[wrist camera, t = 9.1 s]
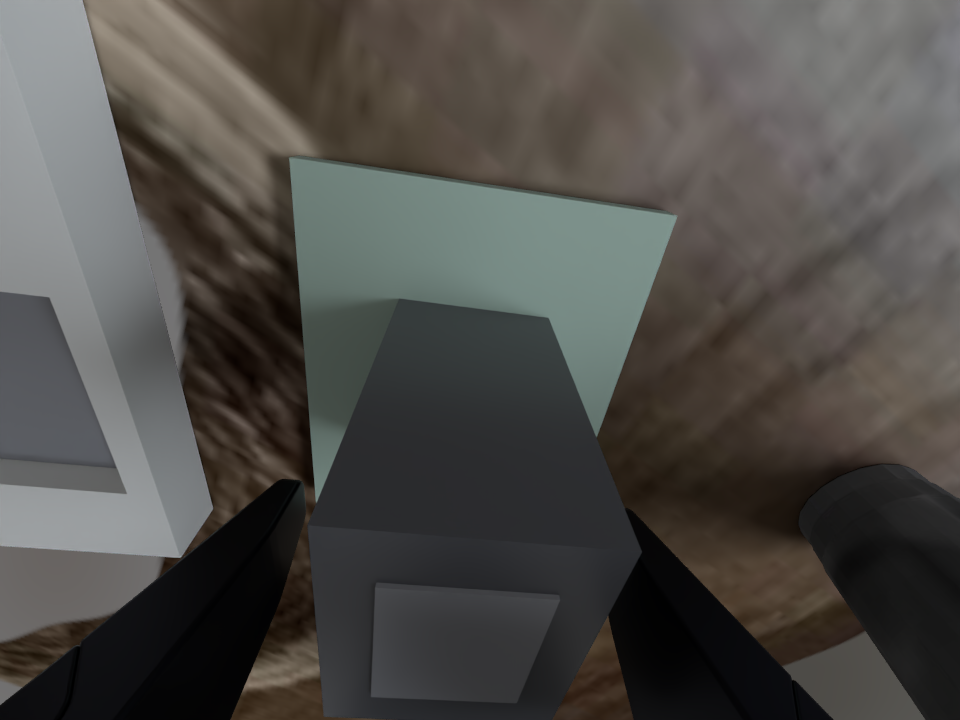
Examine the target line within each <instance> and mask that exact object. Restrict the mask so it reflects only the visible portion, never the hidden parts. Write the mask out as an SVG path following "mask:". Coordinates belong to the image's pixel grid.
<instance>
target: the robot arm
mask: <svg viewBox="0 0 960 720" xmlns="http://www.w3.org/2000/svg"><path fill="white" fill-rule="evenodd" d="M625 511H626V513H627V516H628V518H629V521H630V523H631V526H632V528H633V531H634V533H635V536H636V538H637V541H638V543H639V546H640V548H641V551H642V553H641V555H640V557H639V559H638V560H637V562H636V564H635V566H634V568H633V570H632V572H631V573H630V575H629V577H628V579H627V581H626V583H625V585H624V586H623V588H622V590H621V592H620V594H619V596H618V598H617V600H616V601H615V603H614V605H613V607H612V609H611V611H610V613H609V614H608V616H609V622H610V626H611V630H612V635H613V639H614V643H615V647H616V651H617V655H618V659H619V663H620V666H621V670H622V674H623V678H624V682H625V686H626V690H627V694H628V698H629V702H630V706H631V710H632V714H633V718H634V720H833V719H832V718H831V717H830V716H829V715H828V714H827V713H826V712H825V711H824V710H823V709H822V708H821V707H820V706H819V705H818V703H816V701H815V700H814V699H813V698H812V697H811V696H810V695H809V694H808V693H807V692H806V691H805V690H804V689H803V688H802V687H801V686H800V685H799V684H798V683H797V682H796V681H794V680H792V679H791V676H790V675H789V674H788V673H787V671H785V669H784V668H783V667H782V666H781V665H780V664H779V663H778V662H777V661H776V660H775V659H774V658H773V657H772V656H771V655H770V654H769V653H768V652H767V651H766V650H765V648H764V647H763V646H762V645H761V644H760V643H759V642H758V641H757V640H756V639H755V638H754V637H753V636H752V635H751V634H750V633H749V632H748V631H747V630H746V629H745V628H744V627H743V626H742V625H741V623H740V622H739V621H738V620H737V619H736V618H735V617H734V616H733V615H732V614H731V613H730V612H729V611H728V610H727V609H726V608H725V607H724V606H723V605H722V604H721V603H720V602H719V601H718V600H717V598H716V597H715V596H714V595H713V594H712V593H711V592H710V591H709V590H708V589H707V588H706V587H705V586H704V585H703V584H702V583H701V582H700V581H699V580H698V579H697V578H696V577H695V576H694V574H693V573H692V572H691V571H690V570H689V569H688V568H687V567H686V566H685V565H684V564H683V563H682V562H681V561H680V560H679V559H678V558H677V557H676V556H675V555H674V554H673V553H672V552H671V551H670V549H669V548H668V547H667V546H666V545H665V544H664V543H663V542H662V541H661V540H660V539H659V538H658V537H657V536H656V535H655V534H654V533H653V532H652V531H651V530H650V529H649V528H648V527H647V526H646V524H645V523H644V522H643V521H642V520H641V519H640V518H639V517H638V516H637V515H636V514H635V513H634V512H633V511H632V510H630V509H628V508H625ZM305 515H306V504H305V493H304V485H303V483H302V481H300V480H291V479H281V480H279V481H277V482H276V483H274V484H273V485H272V486H271V487H270V488H268V489H267V490H266V491H265V492H263V493H262V494H261V495H260V496H258V497H257V498H256V499H255V500H254V501H252V502H251V503H250V504H249V505H247V506H246V507H245V508H244V509H242V510H241V511H240V512H239V513H238V514H236V515H235V516H234V517H233V518H231V519H230V520H229V521H228V522H226V523H225V524H224V525H223V526H222V527H220V528H219V529H218V530H217V531H215V532H214V533H213V534H212V535H210V536H209V537H208V538H207V539H206V540H204V541H203V542H202V543H201V544H199V545H198V546H197V547H196V548H195V549H193V550H192V551H191V552H190V553H188V554H187V555H186V556H185V557H183V558H182V559H181V560H180V561H179V562H177V563H176V564H175V565H174V566H172V567H171V568H170V569H169V570H167V571H166V572H165V573H164V574H163V575H161V576H160V577H159V578H158V579H156V580H155V581H154V582H153V583H151V584H150V585H149V586H148V587H147V588H145V589H144V590H143V591H142V592H140V593H139V594H138V595H137V596H135V597H134V598H133V599H132V600H131V601H129V602H128V603H127V604H126V605H124V606H123V607H122V608H121V609H120V610H118V611H117V612H116V613H115V614H113V615H112V616H111V617H110V618H108V619H107V620H106V621H105V622H104V623H102V624H101V625H100V626H99V627H97V628H96V629H95V630H94V631H92V632H91V633H90V634H89V635H88V636H86V637H85V638H84V639H83V640H82V641H81V643H80V646H79V645H76V646H74V647H72V648H71V649H70V650H69V651H68V652H66V653H65V654H64V655H63V656H61V657H60V658H59V659H58V660H56V661H55V662H54V663H53V664H52V665H50V666H49V667H48V668H47V669H45V670H44V671H43V672H42V673H40V674H39V675H38V676H37V677H35V678H34V679H33V680H31V681H30V682H29V683H28V684H26V685H25V686H24V687H23V688H21V689H20V690H19V691H18V692H16V693H15V694H14V695H12V696H11V697H10V698H9V699H7V700H6V701H5V702H4V703H2V704H1V705H0V720H230V719H231V717H232V714H233V712H234V710H235V707H236V705H237V703H238V700H239V698H240V695H241V693H242V691H243V688H244V686H245V683H246V681H247V679H248V676H249V674H250V672H251V669H252V667H253V664H254V662H255V660H256V657H257V655H258V653H259V650H260V648H261V645H262V643H263V641H264V638H265V636H266V634H267V631H268V629H269V626H270V624H271V622H272V619H273V617H274V615H275V612H276V609H277V607H278V604H279V602H280V599H281V596H282V593H283V590H284V586H285V583H286V580H287V576H288V573H289V570H290V567H291V563H292V560H293V557H294V553H295V550H296V547H297V543H298V540H299V537H300V534H301V530H302V527H303V524H304V520H305Z"/></svg>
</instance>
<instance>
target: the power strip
mask: <svg viewBox="0 0 960 720" xmlns="http://www.w3.org/2000/svg"><path fill="white" fill-rule="evenodd" d="M212 510H213V506H212V502H211V498H210V494H209V490H208V486H207V482H206V479H205V475H204V471H203V467H202V463H201V459H200V455H199V451H198V447H197V444H196V440H195V436H194V432H193V428H192V424H191V420H190V416H189V412H188V409H187V405H186V401H185V397H184V393H183V389H182V385H181V381H180V377H179V374H178V370H177V366H176V362H175V358H174V354H173V350H172V347H171V342H170V339H169V335H168V331H167V327H166V323H165V319H164V315H163V311H162V307H161V304H160V300H159V296H158V292H157V288H156V284H155V280H154V276H153V273H152V269H151V265H150V261H149V257H148V253H147V249H146V245H145V241H144V237H143V233H142V230H141V226H140V222H139V218H138V214H137V210H136V206H135V202H134V198H133V195H132V191H131V187H130V183H129V179H128V175H127V171H126V167H125V163H124V160H123V156H122V152H121V148H120V144H119V140H118V136H117V132H116V128H115V125H114V121H113V117H112V113H111V109H110V105H109V101H108V97H107V93H106V90H105V86H104V82H103V78H102V74H101V70H100V66H99V62H98V58H97V55H96V51H95V47H94V43H93V39H92V35H91V31H90V27H89V23H88V20H87V16H86V12H85V8H84V4H83V0H0V546H10V547H25V548H41V549H55V550H70V551H85V552H86V551H87V552H99V553H114V554H130V555H144V556H159V557H174V558H181V557H182V555H183V554H184V552H185V551H186V549H187V548H188V546H189V545H190V543H191V542H192V540H193V539H194V537H195V536H196V534H197V533H198V531H199V530H200V528H201V527H202V525H203V524H204V522H205V521H206V519H207V518H208V516H209V515H210V513H211V512H212Z"/></svg>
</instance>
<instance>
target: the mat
mask: <svg viewBox="0 0 960 720" xmlns="http://www.w3.org/2000/svg"><path fill="white" fill-rule="evenodd" d="M289 162H290V174H291V187H292V200H293V213H294V226H295V239H296V252H297V265H298V277H299V290H300V303H301V316H302V329H303V342H304V355H305V367H306V380H307V393H308V406H309V419H310V432H311V445H312V458H313V470H314V483H315V496H316V503H317V501H318V498H319V496H320V493H321V491H322V488H323V486H324V483H325V481H326V478H327V476H328V473H329V471H330V468H331V466H332V464H333V461H334V459H335V456H336V454H337V451H338V449H339V446H340V444H341V441H342V439H343V436H344V434H345V431H346V429H347V426H348V424H349V421H350V419H351V416H352V414H353V411H354V409H355V407H356V404H357V402H358V399H359V397H360V394H361V392H362V389H363V387H364V384H365V382H366V379H367V377H368V374H369V372H370V369H371V367H372V364H373V362H374V359H375V357H376V355H377V352H378V350H379V347H380V345H381V342H382V340H383V337H384V335H385V332H386V330H387V327H388V325H389V322H390V320H391V317H392V315H393V312H394V310H395V307H396V305H397V302H398V300H399V298H400V299H407V300H415V301H423V302H430V303H438V304H446V305H453V306H461V307H469V308H476V309H484V310H492V311H499V312H507V313H515V314H522V315H530V316H538V317H545V318H549V320H550V323H551V325H552V328H553V330H554V333H555V335H556V338H557V340H558V343H559V345H560V348H561V350H562V353H563V355H564V358H565V360H566V363H567V365H568V368H569V370H570V373H571V375H572V378H573V380H574V383H575V385H576V388H577V390H578V393H579V395H580V398H581V400H582V403H583V405H584V408H585V410H586V413H587V415H588V418H589V420H590V423H591V425H592V428H593V430H594V433H595V435H596V438H597V435H598V433H599V430H600V427H601V424H602V422H603V419H604V416H605V413H606V411H607V408H608V405H609V402H610V400H611V397H612V394H613V391H614V389H615V386H616V383H617V380H618V378H619V375H620V372H621V369H622V367H623V364H624V361H625V358H626V356H627V353H628V350H629V347H630V345H631V342H632V339H633V336H634V334H635V331H636V328H637V326H638V323H639V320H640V317H641V315H642V312H643V309H644V306H645V304H646V301H647V298H648V295H649V293H650V290H651V287H652V284H653V282H654V279H655V276H656V273H657V271H658V268H659V265H660V262H661V260H662V257H663V254H664V251H665V249H666V246H667V243H668V240H669V238H670V235H671V232H672V229H673V227H674V224H675V221H676V218H677V216H676V215H674V214H672V213H670V212H668V211H662V210H656V209H649V208H643V207H636V206H629V205H623V204H616V203H609V202H603V201H596V200H590V199H583V198H576V197H570V196H563V195H557V194H550V193H543V192H537V191H530V190H524V189H517V188H510V187H504V186H497V185H491V184H484V183H477V182H471V181H464V180H458V179H451V178H444V177H438V176H431V175H424V174H418V173H411V172H405V171H398V170H391V169H385V168H378V167H372V166H365V165H358V164H352V163H345V162H339V161H332V160H325V159H319V158H312V157H306V156H294V157H289Z"/></svg>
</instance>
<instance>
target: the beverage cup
mask: <svg viewBox="0 0 960 720" xmlns="http://www.w3.org/2000/svg"><path fill="white" fill-rule="evenodd" d="M798 524H799V527H800V530H801V532H802V534H803V535H804V536H805V538H806V539H807V540H808V541H809V543H810V544H811V545H812V547H813V550H814V551H815V553H816V555H817V556H818V558H819V559H820V561H821V562H822V564H823V566H824V569H825V572H826V573H827V575H828V576H829V577H830V579H831V580H832V582H833V583H834V585H835V586H836V588H837V589H838V591H839V592H840V594H841V595H842V597H843V598H844V600H845V601H846V603H847V604H848V606H849V607H850V609H851V610H852V612H853V613H854V615H855V616H856V617H857V619H858V620H859V622H860V623H861V625H862V626H863V628H864V629H865V631H866V632H867V634H868V635H869V637H870V638H871V640H872V641H873V643H874V644H875V645H876V647H877V649H878V650H879V651H880V653H881V655H882V656H883V657H884V659H885V660H886V662H887V663H888V665H889V666H890V668H891V669H892V671H893V672H894V674H895V675H896V677H897V678H898V680H899V681H900V683H901V684H902V686H903V687H904V689H905V690H906V691H907V693H908V695H909V696H910V697H911V699H912V700H913V702H914V703H915V705H916V706H917V708H918V709H919V711H920V712H921V714H922V715H923V717H924V718H925V720H960V499H959V498H956V497H955V496H953V495H952V494H950V493H949V492H947V491H945V490H944V489H942V488H941V487H939V486H938V485H936V484H934V483H931V482H929V481H928V480H927V479H925V478H924V477H923V476H922V475H920V474H919V473H918V472H917V471H915V470H914V469H911V468H908V467H905V466H902V465H886V464H881V465H876V466H870V467H865V468H860V469H858V470H855V471H852V472H850V473H847V474H845V475H842V476H840V477H838V478H836V479H835V480H833V481H831V482H830V483H828V484H826V485H825V486H823V487H822V488H820V489H819V490H818V491H817V492H816V493H815V494H814V495H813V496H812V497H811V498H809V499H808V501H807V502H806V504H805V505H804V507H803V509H802V510H801V512H800V516H799V522H798Z"/></svg>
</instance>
